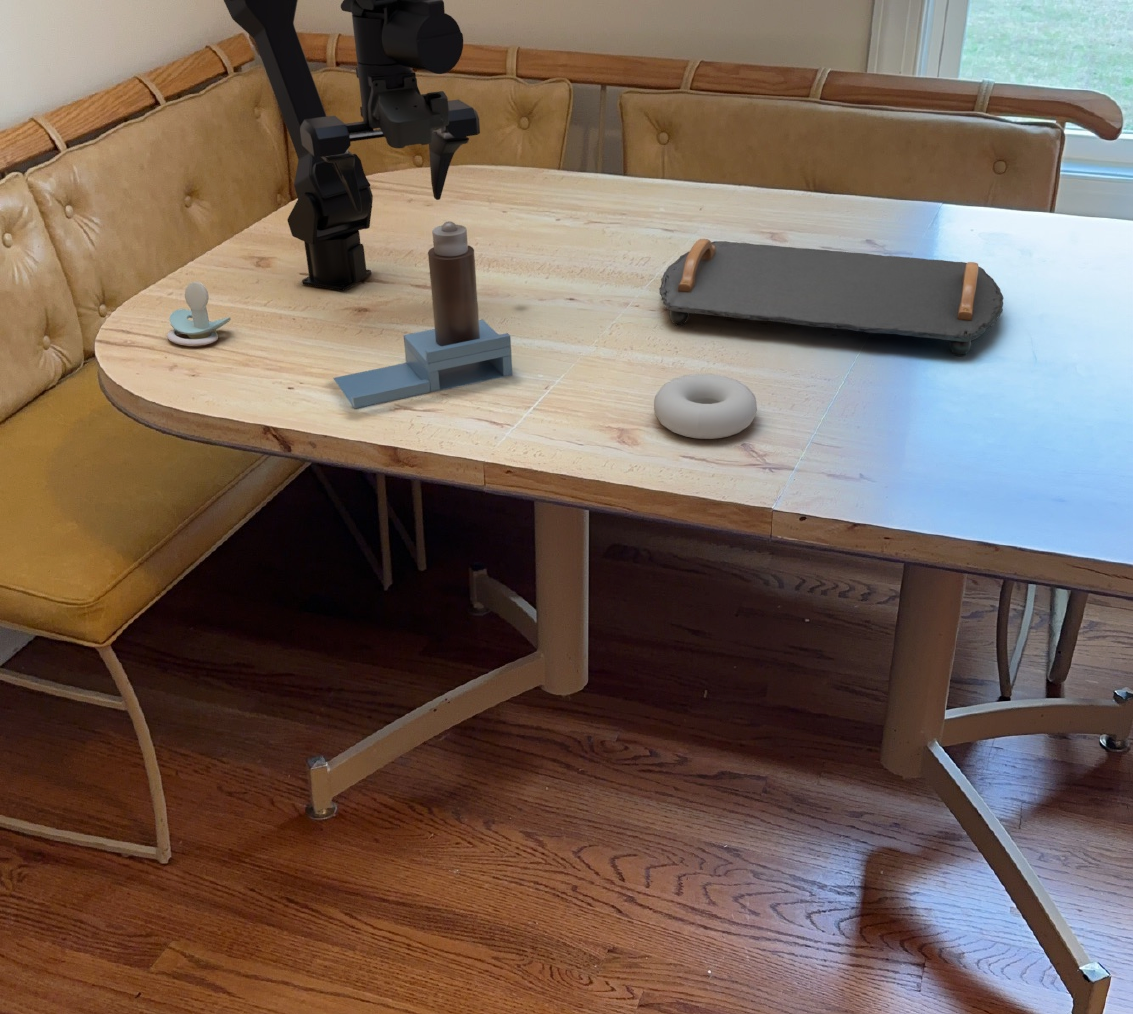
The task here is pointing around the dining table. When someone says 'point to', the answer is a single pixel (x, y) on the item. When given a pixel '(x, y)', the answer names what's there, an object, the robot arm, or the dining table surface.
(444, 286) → the pepper mill
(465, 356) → the riser
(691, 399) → the donut
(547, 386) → the dining table surface
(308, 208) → the robot arm
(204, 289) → the pacifier
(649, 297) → the dining table surface
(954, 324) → the serving tray
